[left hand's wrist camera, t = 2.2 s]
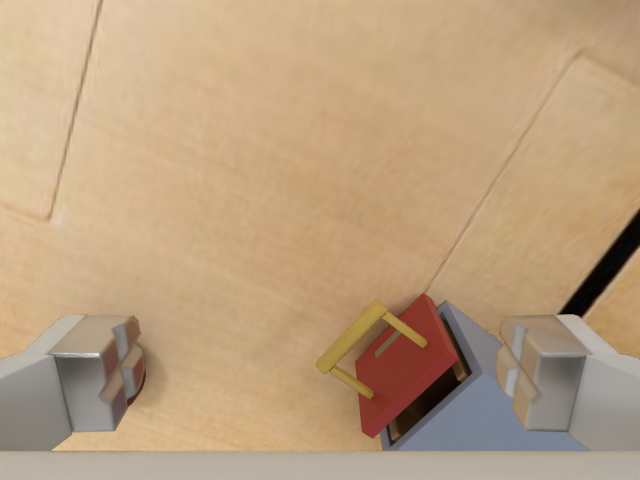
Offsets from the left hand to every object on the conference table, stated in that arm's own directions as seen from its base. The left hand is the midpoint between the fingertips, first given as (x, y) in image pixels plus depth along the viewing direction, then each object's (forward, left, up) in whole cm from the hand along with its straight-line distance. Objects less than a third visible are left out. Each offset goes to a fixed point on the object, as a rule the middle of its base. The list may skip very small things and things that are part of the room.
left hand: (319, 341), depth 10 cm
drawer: (-9, +22, -30) cm, 38 cm away
